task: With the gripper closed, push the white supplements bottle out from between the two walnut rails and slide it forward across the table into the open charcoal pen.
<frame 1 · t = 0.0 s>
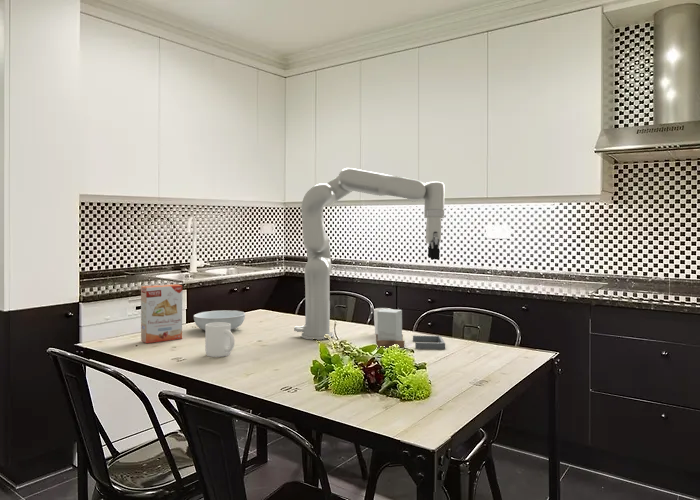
hand: (433, 258, 208), 31 cm above the table, tool pointing down, fingers open, 9 cm apart
mug: (221, 356, 180), on the table
supplement box: (389, 344, 199), on the table
serving bowl: (219, 330, 224), on the table
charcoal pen: (427, 344, 198), on the table
walnut rails: (389, 344, 199), on the table
cracker box: (162, 340, 203), on the table
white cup: (383, 334, 218), on the table
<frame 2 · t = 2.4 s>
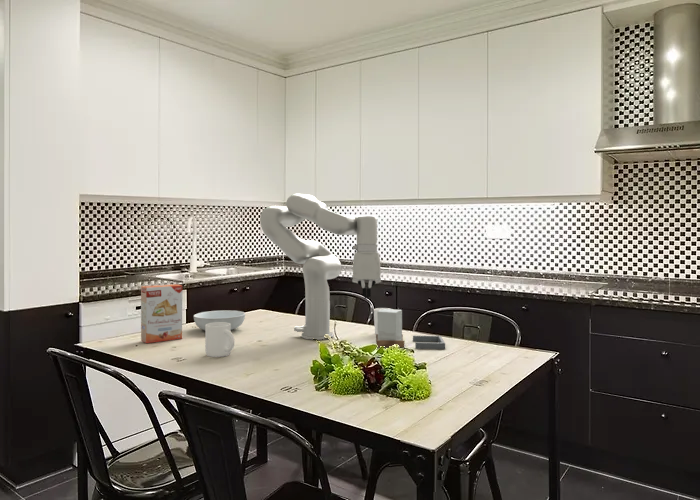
hand: (366, 298, 199), 17 cm above the table, tool pointing down, fingers closed
nothing on the table moved.
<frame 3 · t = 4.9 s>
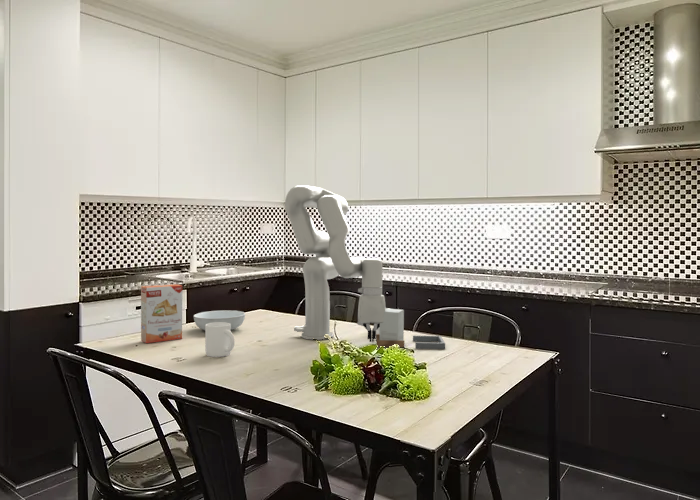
hand: (371, 340, 199), 1 cm above the table, tool pointing down, fingers closed
nothing on the table moved.
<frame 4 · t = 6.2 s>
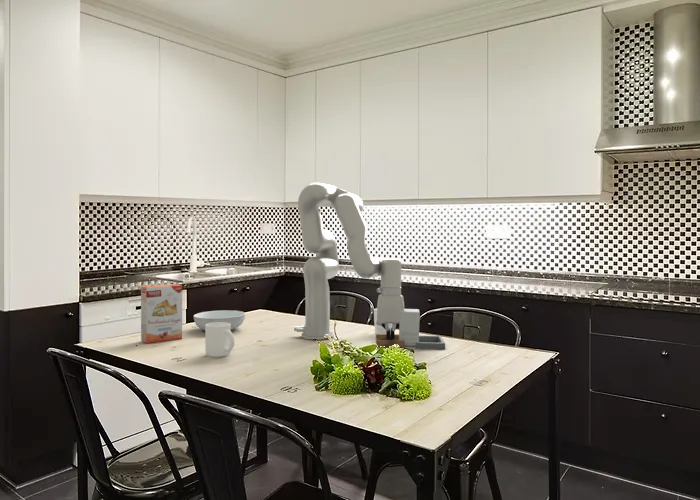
hand: (390, 341, 199), 1 cm above the table, tool pointing down, fingers closed
supplement box: (408, 344, 199), on the table, touching gripper
everything else where it was.
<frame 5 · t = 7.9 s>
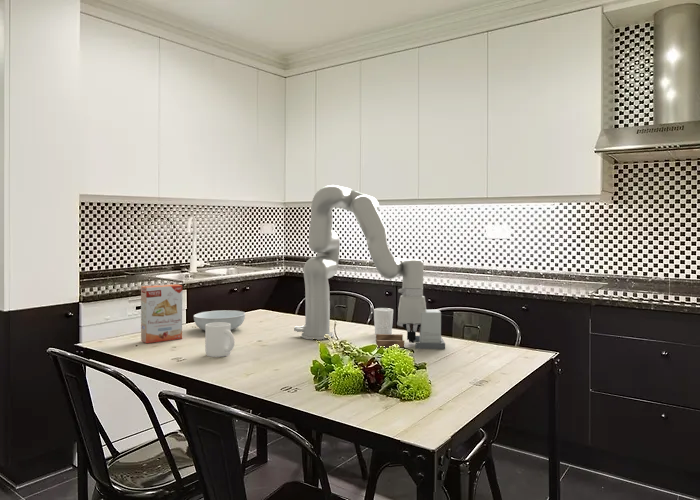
hand: (411, 341, 199), 1 cm above the table, tool pointing down, fingers closed
supplement box: (429, 345, 199), on the table, touching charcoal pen, gripper
everything else where it was.
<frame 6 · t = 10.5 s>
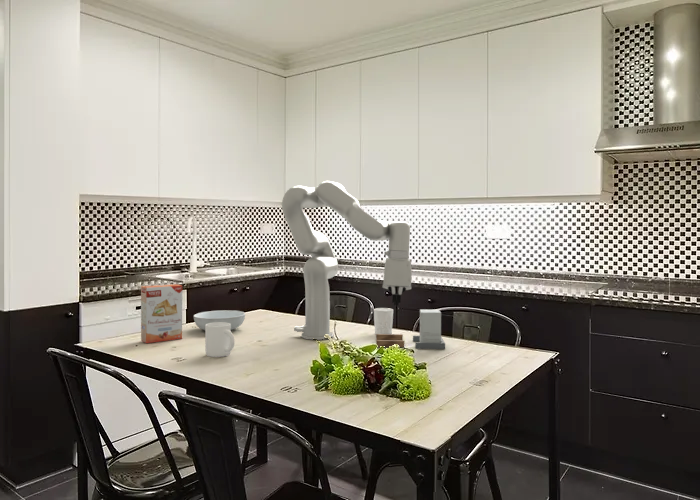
hand: (396, 304, 199), 15 cm above the table, tool pointing down, fingers closed
supplement box: (429, 345, 199), on the table
everything else where it was.
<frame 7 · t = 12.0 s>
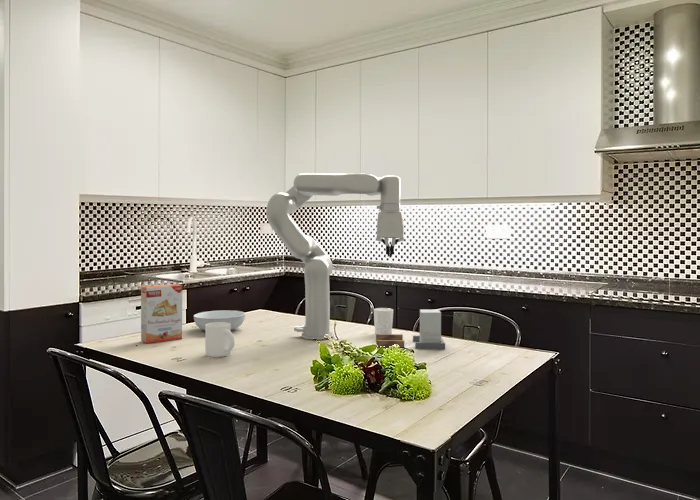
hand: (389, 256, 207), 32 cm above the table, tool pointing down, fingers closed
nothing on the table moved.
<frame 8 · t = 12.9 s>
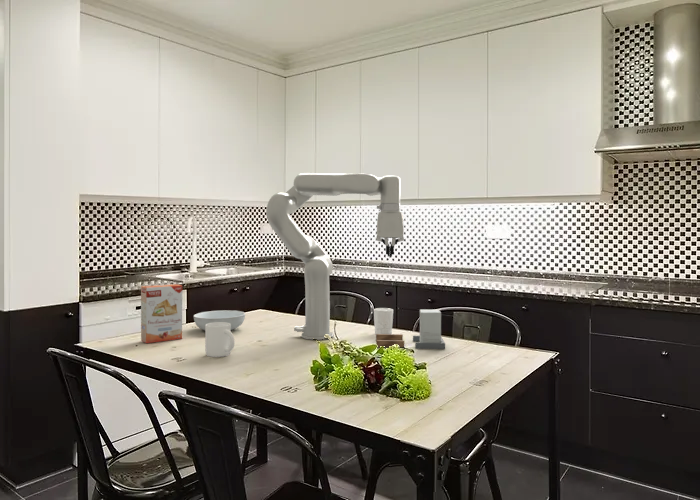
hand: (389, 256, 207), 32 cm above the table, tool pointing down, fingers closed
nothing on the table moved.
at the end: supplement box inside the target area on the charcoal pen (1.1 cm from its centre), point 0.0 cm above the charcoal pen's base; supplement box tilted 0° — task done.
